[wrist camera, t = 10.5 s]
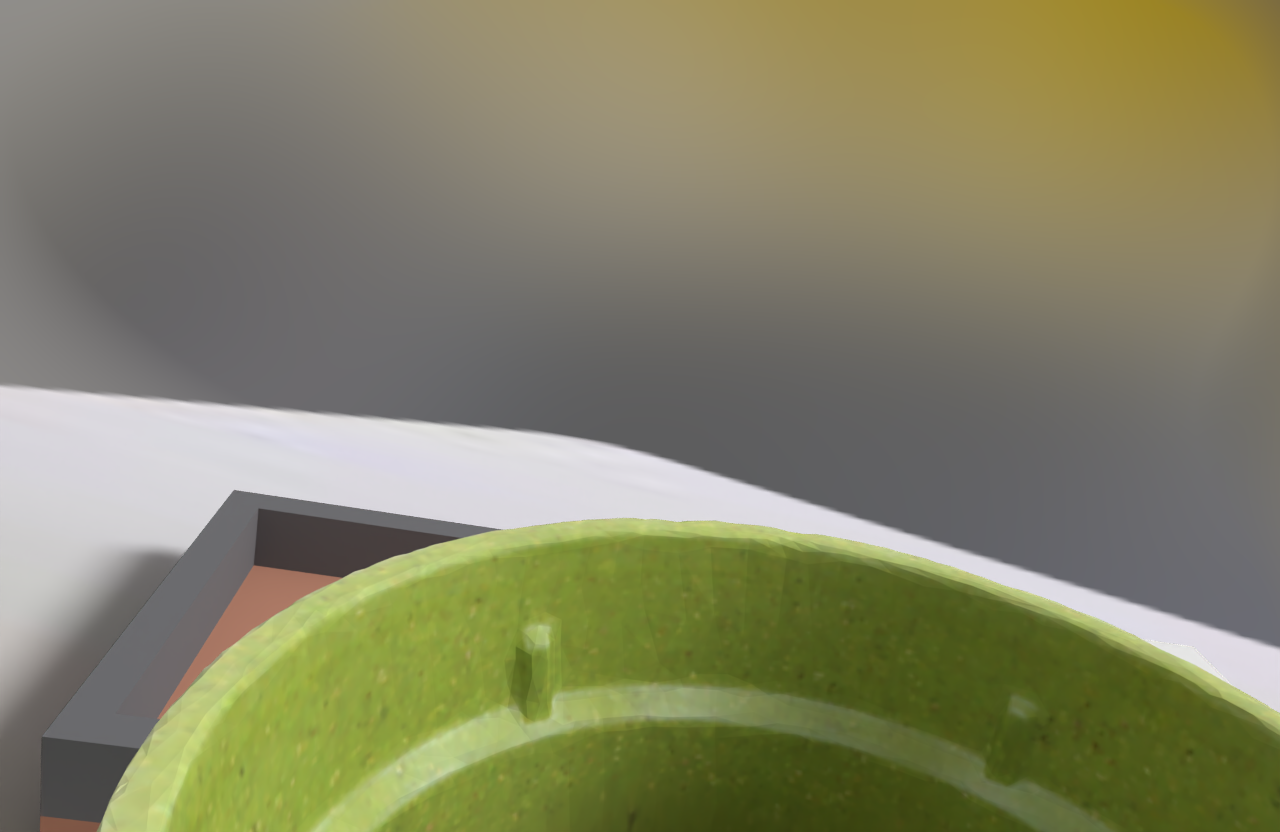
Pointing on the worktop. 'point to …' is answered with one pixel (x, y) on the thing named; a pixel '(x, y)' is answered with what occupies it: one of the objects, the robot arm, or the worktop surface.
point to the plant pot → (695, 701)
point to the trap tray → (207, 629)
